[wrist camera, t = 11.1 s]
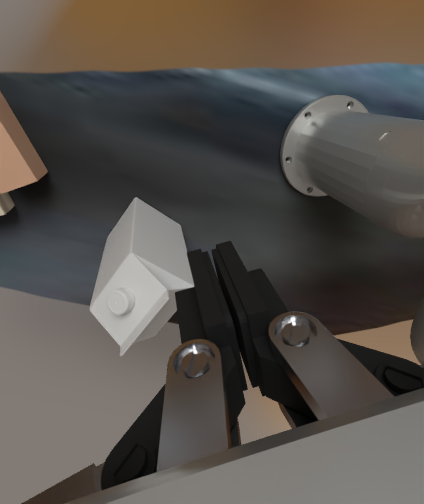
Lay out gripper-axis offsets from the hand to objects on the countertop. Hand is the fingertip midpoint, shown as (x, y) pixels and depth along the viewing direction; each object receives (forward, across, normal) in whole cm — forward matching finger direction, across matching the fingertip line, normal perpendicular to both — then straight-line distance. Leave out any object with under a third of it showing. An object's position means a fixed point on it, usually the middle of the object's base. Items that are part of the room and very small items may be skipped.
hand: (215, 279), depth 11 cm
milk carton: (+29, +6, +10) cm, 32 cm away
